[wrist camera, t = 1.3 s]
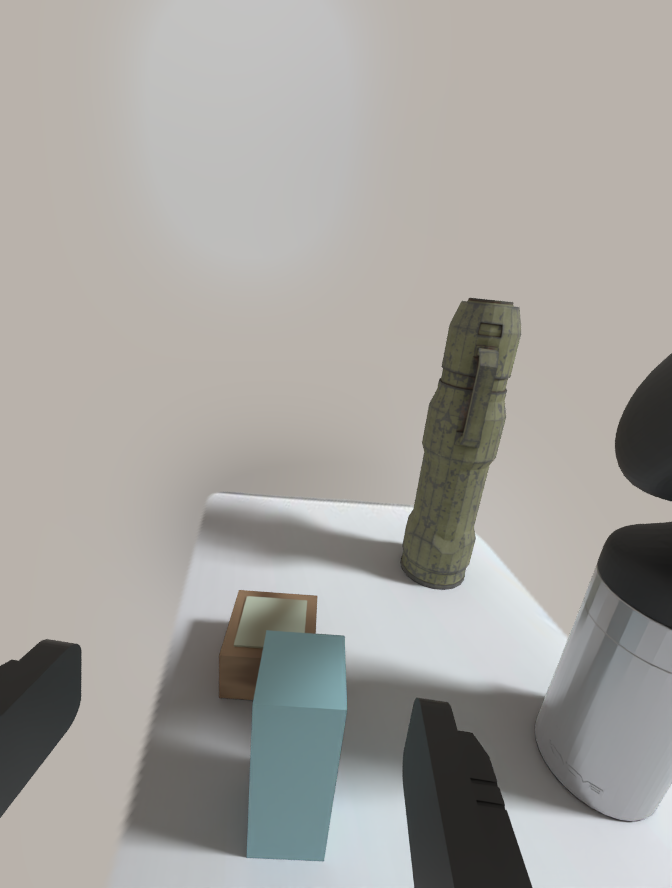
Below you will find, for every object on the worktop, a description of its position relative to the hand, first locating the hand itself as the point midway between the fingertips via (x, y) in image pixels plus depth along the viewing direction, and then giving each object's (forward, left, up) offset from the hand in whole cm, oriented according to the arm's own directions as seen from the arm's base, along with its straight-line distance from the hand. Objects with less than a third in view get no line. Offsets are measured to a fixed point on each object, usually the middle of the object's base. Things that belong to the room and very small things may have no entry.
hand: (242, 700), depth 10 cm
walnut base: (-11, -21, -26) cm, 35 cm away
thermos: (-37, -24, -26) cm, 51 cm away
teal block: (-7, -9, -26) cm, 28 cm away
